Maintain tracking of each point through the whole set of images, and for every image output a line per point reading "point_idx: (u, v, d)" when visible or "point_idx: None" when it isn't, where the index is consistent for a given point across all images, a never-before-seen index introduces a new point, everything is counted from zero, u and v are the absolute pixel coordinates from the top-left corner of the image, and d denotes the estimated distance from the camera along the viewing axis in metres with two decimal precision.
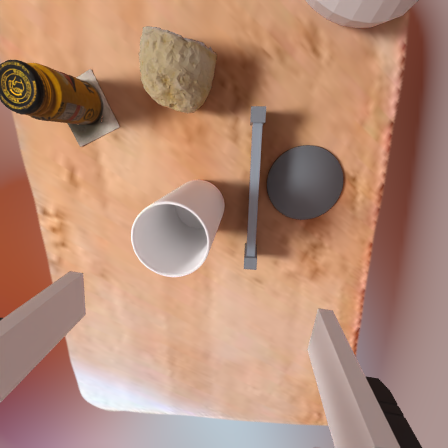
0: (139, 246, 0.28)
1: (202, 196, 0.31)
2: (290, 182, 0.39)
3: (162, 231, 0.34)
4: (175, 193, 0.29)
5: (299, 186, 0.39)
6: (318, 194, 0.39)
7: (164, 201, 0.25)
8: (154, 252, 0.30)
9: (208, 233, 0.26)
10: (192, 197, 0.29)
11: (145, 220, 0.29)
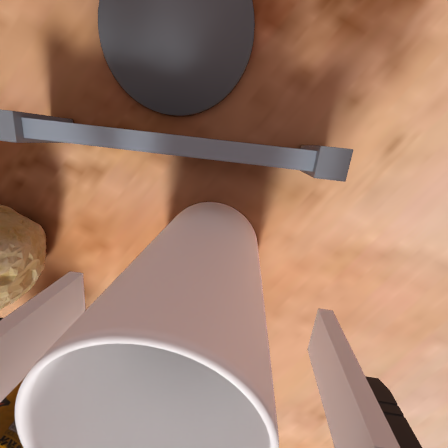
0: None
1: None
2: (170, 62, 0.19)
3: None
4: None
5: (179, 41, 0.18)
6: None
7: None
8: (225, 429, 0.11)
9: (112, 332, 0.07)
10: None
11: (142, 425, 0.12)
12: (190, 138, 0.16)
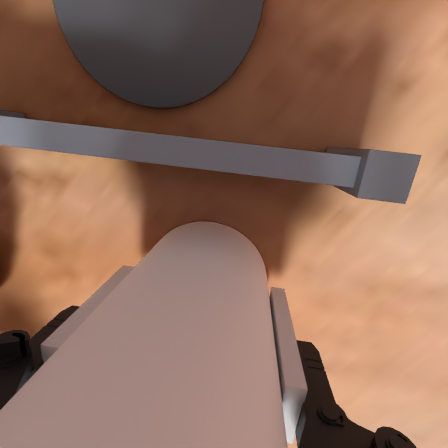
0: None
1: None
2: (149, 34, 0.14)
3: None
4: None
5: (161, 4, 0.13)
6: None
7: None
8: None
9: None
10: None
11: None
12: (170, 138, 0.11)
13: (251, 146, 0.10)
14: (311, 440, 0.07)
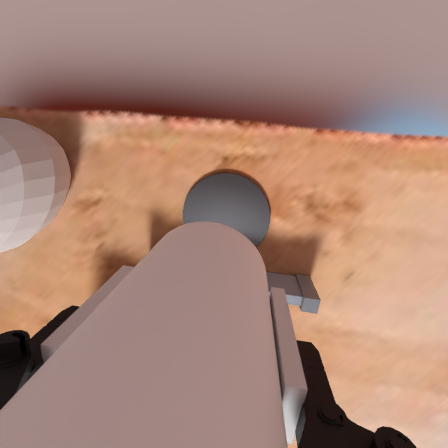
0: None
1: None
2: None
3: None
4: None
5: (228, 223, 0.33)
6: (239, 202, 0.32)
7: None
8: None
9: None
10: None
11: None
12: None
13: None
14: (311, 440, 0.07)
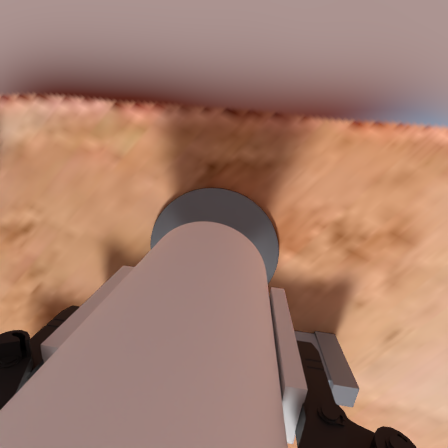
0: None
1: None
2: None
3: None
4: None
5: None
6: None
7: None
8: None
9: None
10: None
11: None
12: None
13: None
14: (311, 440, 0.07)
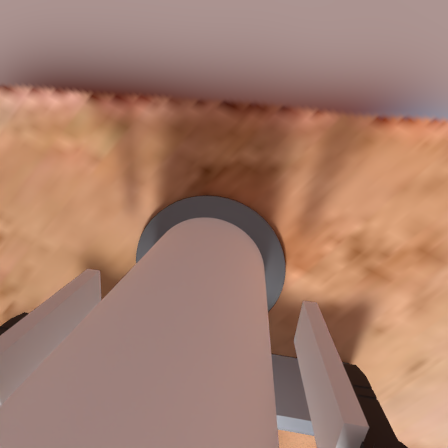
0: None
1: None
2: None
3: None
4: None
5: None
6: None
7: None
8: None
9: None
10: None
11: None
12: None
13: (278, 416, 0.16)
14: None
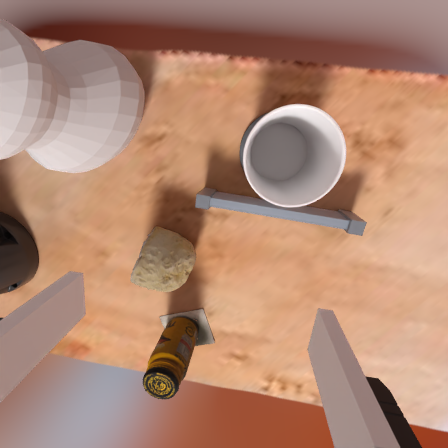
0: (295, 201, 0.23)
1: None
2: None
3: (292, 188, 0.29)
4: None
5: None
6: None
7: (243, 156, 0.22)
8: (310, 191, 0.24)
9: None
10: None
11: (268, 193, 0.25)
12: (290, 211, 0.34)
13: (315, 215, 0.34)
14: None
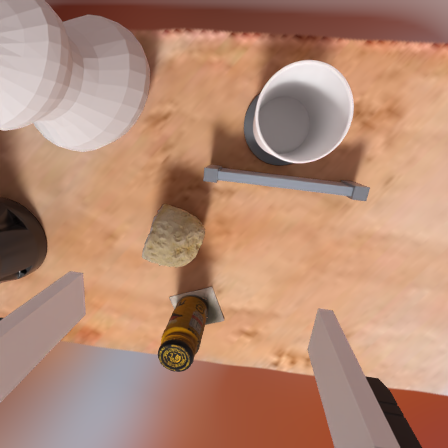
0: (306, 158, 0.24)
1: None
2: None
3: (299, 154, 0.30)
4: None
5: None
6: None
7: (255, 114, 0.23)
8: (318, 150, 0.25)
9: (300, 61, 0.21)
10: None
11: None
12: (296, 181, 0.35)
13: (320, 184, 0.35)
14: None
